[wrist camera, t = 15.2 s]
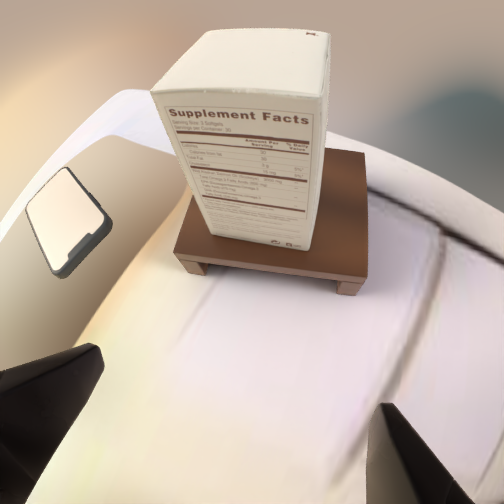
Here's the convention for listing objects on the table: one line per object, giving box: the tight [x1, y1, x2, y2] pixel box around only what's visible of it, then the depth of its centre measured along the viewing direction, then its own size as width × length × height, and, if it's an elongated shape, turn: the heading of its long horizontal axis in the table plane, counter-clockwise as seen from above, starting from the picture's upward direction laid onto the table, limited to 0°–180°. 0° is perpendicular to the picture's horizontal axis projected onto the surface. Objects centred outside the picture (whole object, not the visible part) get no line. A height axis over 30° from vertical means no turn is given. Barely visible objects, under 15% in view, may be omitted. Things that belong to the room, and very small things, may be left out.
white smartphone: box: [25, 167, 113, 279], centre depth 29 cm, size 9×2×16 cm
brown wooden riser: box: [173, 148, 368, 296], centre depth 24 cm, size 12×14×4 cm
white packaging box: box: [150, 28, 331, 251], centre depth 17 cm, size 7×7×13 cm
